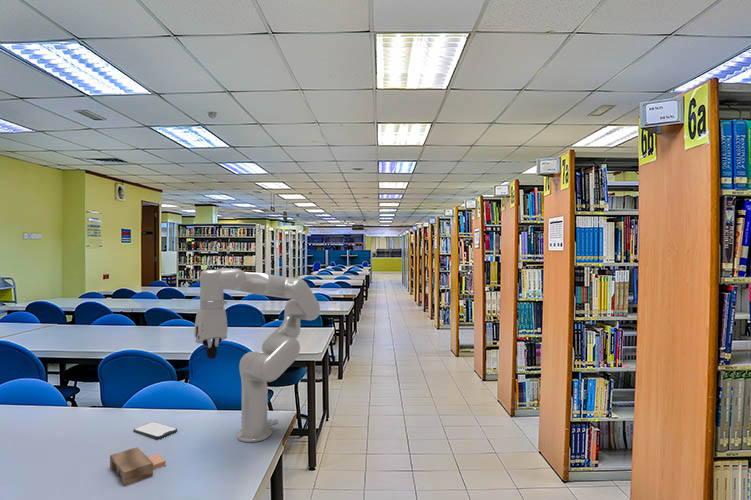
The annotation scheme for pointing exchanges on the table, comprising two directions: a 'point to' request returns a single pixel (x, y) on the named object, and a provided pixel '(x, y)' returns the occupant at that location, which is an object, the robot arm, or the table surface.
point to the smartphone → (155, 430)
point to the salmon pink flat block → (157, 461)
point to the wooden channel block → (131, 465)
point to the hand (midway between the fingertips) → (211, 358)
